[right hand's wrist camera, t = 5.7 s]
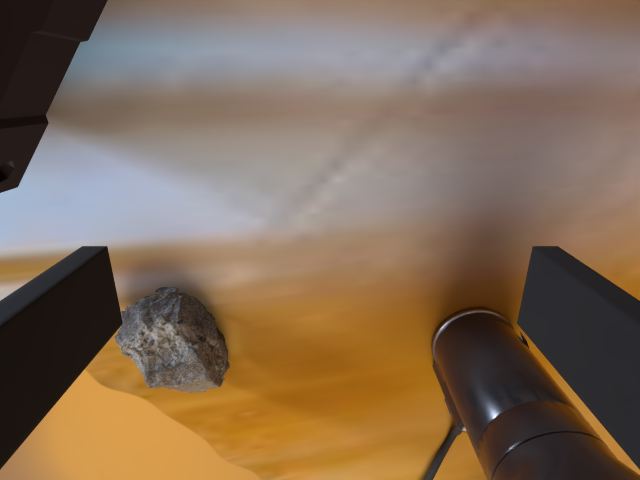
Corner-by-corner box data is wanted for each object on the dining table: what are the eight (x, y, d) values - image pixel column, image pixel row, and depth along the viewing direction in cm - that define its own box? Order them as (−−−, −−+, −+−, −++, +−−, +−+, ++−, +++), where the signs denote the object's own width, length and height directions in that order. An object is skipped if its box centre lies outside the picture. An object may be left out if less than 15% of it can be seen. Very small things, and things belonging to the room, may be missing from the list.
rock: (116, 316, 45) (85, 351, 39) (163, 266, 43) (139, 295, 37) (208, 383, 48) (194, 425, 42) (256, 340, 46) (248, 378, 40)
